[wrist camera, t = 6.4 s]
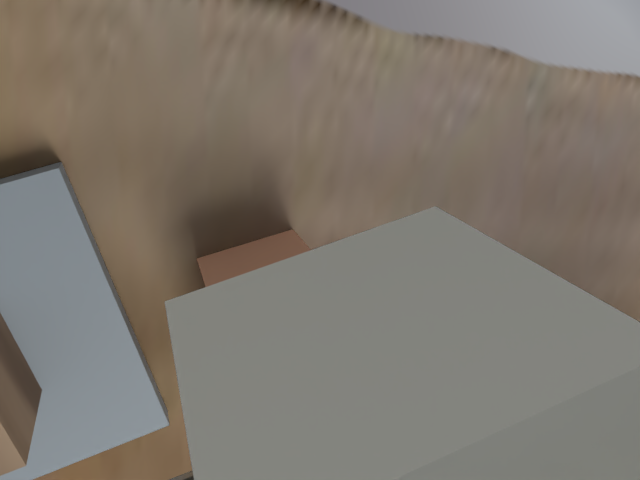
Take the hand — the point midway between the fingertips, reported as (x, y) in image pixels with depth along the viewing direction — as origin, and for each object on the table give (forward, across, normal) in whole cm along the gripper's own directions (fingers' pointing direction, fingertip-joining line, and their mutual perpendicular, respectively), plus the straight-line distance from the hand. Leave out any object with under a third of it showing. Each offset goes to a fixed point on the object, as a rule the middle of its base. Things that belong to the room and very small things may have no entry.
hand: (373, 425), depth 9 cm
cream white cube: (+2, 0, 0) cm, 2 cm away
